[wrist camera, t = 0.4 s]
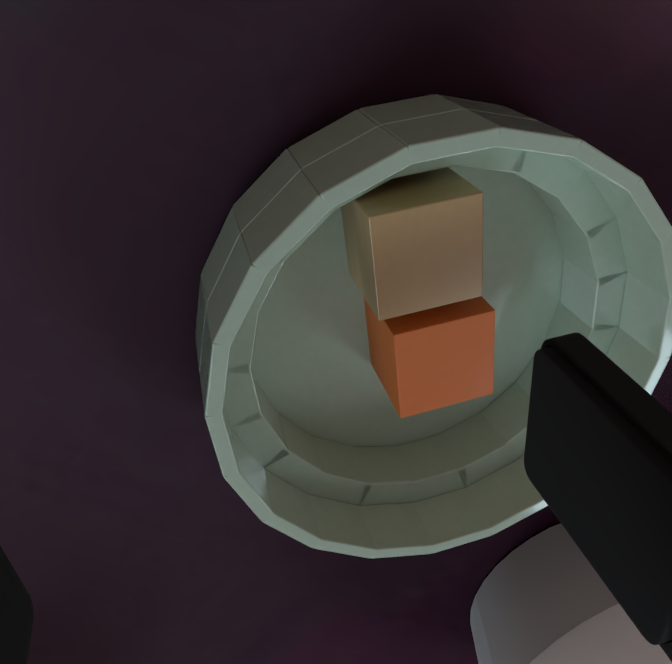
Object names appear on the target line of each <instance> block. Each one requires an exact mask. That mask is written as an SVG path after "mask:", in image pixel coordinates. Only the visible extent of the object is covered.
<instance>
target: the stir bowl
mask: <svg viewBox="0 0 672 664" xmlns="http://www.w3.org/2000/svg"><path fill="white" fill-rule="evenodd" d="M446 167H449V168H450V169H452V170H453V171H454V172H456V173H457V174H458V175H460V176H461V177H463V178H464V179H465V180H467V181H468V182H470V183H471V184H472V185H474V186H475V187H477V188H478V189H479V190H481V191H482V192H483V295H482V297H483V298H484V299H485V300H486V301H487V302H488V303H489V304H490V305H491V306H492V307H493V309H494V310H495V341H494V393H493V394H490V395H487V396H483V397H479V398H475V399H472V400H468V401H464V402H460V403H457V404H453V405H449V406H445V407H442V408H438V409H434V410H431V411H427V412H423V413H419V414H416V415H412V416H408V417H404V418H400V416H399V414H398V413H397V411H396V409H395V407H394V405H393V403H392V402H391V400H390V398H389V396H388V394H387V392H386V390H385V389H384V387H383V385H382V383H381V381H380V379H379V378H378V376H377V374H376V372H375V370H374V368H373V367H372V365H371V359H370V350H369V341H368V332H367V323H366V314H365V305H364V296H363V295H362V293H361V292H360V290H359V288H358V287H357V285H356V284H355V282H354V280H353V279H352V277H351V276H350V274H349V269H348V261H347V253H346V245H345V237H344V229H343V221H342V212H341V207H342V206H344V205H345V204H347V203H349V202H351V201H353V200H354V199H356V198H358V197H360V196H362V195H363V194H365V193H367V192H369V191H371V190H373V189H374V188H376V187H378V186H380V185H382V184H383V183H385V182H387V181H389V180H391V179H393V178H398V177H403V176H408V175H412V174H417V173H422V172H427V171H432V170H436V169H441V168H446ZM575 332H576V333H580V334H582V335H583V336H585V337H586V338H587V339H588V340H589V341H590V342H591V343H593V344H594V345H595V346H596V347H597V348H598V349H599V350H601V351H602V352H603V353H604V354H605V355H606V356H607V357H608V358H610V359H611V360H612V361H613V362H614V363H615V364H616V365H617V366H619V367H620V368H621V369H622V370H623V371H624V372H625V373H626V374H628V375H629V376H630V377H631V378H632V379H633V380H634V381H635V382H637V383H638V384H639V385H640V386H641V387H642V388H643V389H645V390H646V391H647V392H648V393H649V394H650V395H651V394H652V392H653V390H654V388H655V386H656V385H657V383H658V381H659V379H660V377H661V375H662V373H663V371H664V369H665V367H666V365H667V363H668V361H669V359H670V356H671V353H672V226H671V225H670V223H669V221H668V220H667V218H666V216H665V215H664V213H663V212H662V210H661V208H660V207H659V205H658V203H657V202H656V200H655V199H654V197H653V195H652V194H651V192H650V190H649V189H648V187H647V186H646V184H645V182H644V181H643V179H642V178H640V176H639V175H637V174H635V173H634V172H632V171H631V170H629V169H628V168H626V167H625V166H623V165H621V164H620V163H618V162H617V161H615V160H614V159H612V158H611V157H609V156H607V155H606V154H604V153H603V152H601V151H600V150H598V149H596V148H595V147H593V146H592V145H590V144H589V143H587V142H586V141H584V140H582V139H580V138H577V137H575V136H573V135H571V134H568V133H566V132H564V131H561V130H559V129H557V128H554V127H552V126H550V125H547V124H545V123H543V122H540V121H538V120H536V119H533V118H531V117H529V116H526V115H524V114H522V113H519V112H517V111H515V110H512V109H510V108H508V107H505V106H503V105H498V104H492V103H486V102H480V101H474V100H468V99H462V98H456V97H450V96H444V95H438V94H435V95H433V94H432V95H427V96H422V97H416V98H411V99H406V100H400V101H395V102H390V103H385V104H379V105H374V106H369V107H364V108H360V109H359V110H355V111H353V112H351V113H349V114H348V115H346V116H344V117H342V118H341V119H339V120H337V121H335V122H333V123H332V124H330V125H328V126H326V127H324V128H323V129H321V130H319V131H317V132H315V133H314V134H312V135H310V136H308V137H306V138H305V139H303V140H301V141H299V142H297V143H296V144H294V145H292V146H290V147H289V148H288V149H285V150H284V151H283V153H282V154H281V155H280V156H279V157H278V158H277V159H276V160H275V161H274V162H273V163H272V164H271V165H270V166H269V167H268V169H267V170H266V171H265V172H264V173H263V174H262V175H261V176H260V177H259V178H258V179H257V180H256V181H255V182H254V183H253V184H252V186H251V187H250V188H249V189H248V190H247V191H246V192H245V193H244V194H243V195H242V196H241V197H240V198H239V199H238V200H237V202H236V203H235V204H234V205H233V208H232V209H231V210H230V212H229V214H228V217H227V219H226V221H225V223H224V225H223V227H222V229H221V232H220V234H219V236H218V238H217V240H216V242H215V244H214V247H213V249H212V251H211V253H210V255H209V257H208V260H207V262H206V264H205V266H204V268H203V270H202V273H201V277H200V288H199V299H198V310H197V321H196V332H195V341H196V349H197V357H198V365H199V373H200V382H201V390H202V398H203V406H204V414H205V419H206V423H207V426H208V429H209V433H210V436H211V439H212V442H213V446H214V449H215V452H216V455H217V459H218V462H219V465H220V468H221V472H222V475H223V477H224V478H225V480H226V481H227V482H228V483H229V484H230V485H231V487H232V488H233V489H234V490H235V491H236V492H237V494H238V495H239V496H240V497H241V498H242V499H243V500H244V502H245V503H246V504H247V505H248V506H249V507H250V509H251V510H252V511H253V512H254V513H255V514H256V516H257V517H258V518H259V519H260V520H261V521H262V522H263V523H265V524H267V525H269V526H271V527H273V528H274V529H276V530H278V531H280V532H282V533H284V534H286V535H288V536H290V537H292V538H294V539H295V540H297V541H299V542H301V543H303V544H305V545H307V546H309V547H311V548H314V549H319V550H324V551H330V552H336V553H341V554H347V555H353V556H359V557H364V558H372V559H373V558H386V557H398V556H411V555H423V554H431V553H436V552H440V551H443V550H446V549H449V548H453V547H456V546H459V545H463V544H466V543H469V542H472V541H476V540H479V539H482V538H486V537H489V536H491V535H494V534H496V533H498V532H500V531H501V530H503V529H505V528H507V527H509V526H511V525H513V524H515V523H517V522H518V521H520V520H522V519H524V518H526V517H528V516H530V515H532V514H533V513H535V512H537V511H539V510H541V509H543V508H545V507H547V506H548V505H547V503H546V502H545V501H544V499H543V498H542V497H541V495H540V494H539V492H538V491H537V490H536V488H535V487H534V485H533V484H532V483H531V481H530V480H529V478H528V476H527V474H526V471H525V467H524V452H525V442H526V432H527V422H528V411H529V401H530V391H531V381H532V371H533V360H534V354H535V352H536V351H537V350H539V349H541V347H542V344H543V342H544V341H545V340H547V339H550V338H554V337H558V336H562V335H566V334H571V333H575Z"/></svg>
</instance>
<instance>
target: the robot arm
mask: <svg viewBox="0 0 672 664" xmlns="http://www.w3.org/2000/svg"><path fill="white" fill-rule="evenodd" d="M524 467H525V471H526V474H527V476H528V478H529V480H530V481H531V483H532V484H533V485H534V487H535V488H536V490H537V491H538V492H539V494H540V495H541V497H542V498H543V499H544V501H545V502H546V503H547V505H548V506H549V508H550V509H551V510H552V512H553V513H554V514H555V516H556V517H557V519H558V520H559V521H560V523H561V524H562V525H563V527H564V528H565V530H566V531H567V532H568V534H569V535H570V537H571V538H572V539H573V541H574V542H575V543H576V545H577V546H578V548H579V549H580V550H581V552H582V553H583V554H584V556H585V557H586V559H587V560H588V561H589V563H590V564H591V565H592V567H593V568H594V570H595V571H596V572H597V574H598V575H599V576H600V578H601V579H602V581H603V582H604V583H605V585H606V586H607V588H608V589H609V590H610V592H611V593H612V594H613V596H614V597H615V599H616V600H617V601H618V603H619V604H620V605H621V607H622V608H623V610H624V611H625V612H626V614H627V615H628V616H629V618H630V619H631V621H632V622H633V623H634V625H635V626H636V628H637V629H638V630H639V632H640V633H641V634H642V636H643V637H644V638H645V639H646V640H647V641H648V642H649V643H650V644H653V645H658V644H659V645H660V647H661V648H662V649H663V651H664V652H665V653H666V655H667V656H668V658H669V659H670V660H671V662H672V413H670V412H669V411H668V410H667V409H666V408H665V407H664V406H663V405H661V404H660V403H659V402H658V401H657V400H656V399H655V398H654V397H652V396H651V395H650V394H649V393H648V392H647V391H646V390H645V389H643V388H642V387H641V386H640V385H639V384H638V383H637V382H635V381H634V380H633V379H632V378H631V377H630V376H629V375H628V374H626V373H625V372H624V371H623V370H622V369H621V368H620V367H619V366H617V365H616V364H615V363H614V362H613V361H612V360H611V359H610V358H608V357H607V356H606V355H605V354H604V353H603V352H602V351H601V350H599V349H598V348H597V347H596V346H595V345H594V344H593V343H591V342H590V341H589V340H588V339H587V338H586V337H585V336H583V335H582V334H580V333H576V332H575V333H571V334H566V335H562V336H558V337H554V338H550V339H547V340H545V341H544V342H543V344H542V347H541V349H539V350H537V351H536V352H535V354H534V360H533V371H532V381H531V391H530V401H529V411H528V422H527V432H526V442H525V452H524ZM32 624H33V605H32V601H31V598H30V596H29V594H28V592H27V590H26V589H25V587H24V585H23V584H22V582H21V580H20V579H19V577H18V575H17V573H16V572H15V570H14V568H13V567H12V565H11V563H10V562H9V560H8V558H7V557H6V555H5V553H4V551H3V550H2V548H1V546H0V664H26V662H27V656H28V650H29V643H30V637H31V631H32Z"/></svg>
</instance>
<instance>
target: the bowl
mask: <svg viewBox="0 0 672 664" xmlns="http://www.w3.org/2000/svg"><path fill="white" fill-rule="evenodd" d="M470 624H471V629H472V634H473V639H474V644H475V649H476V653H477V658H478V663H479V664H672V662H671V660H670V659H669V658H668V656H667V655H666V653H665V652H664V651H663V649H662V648H661V647H660V645H659V644H658V645H653V644H650V643H649V642H648V641H647V640H646V639H645V638H644V637H643V636H642V634H641V633H640V632H639V630H638V629H637V628H636V626H635V625H634V623H633V622H632V621H631V619H630V618H629V616H628V615H627V614H626V612H625V611H624V610H623V608H622V607H621V605H620V604H619V603H618V601H617V600H616V599H615V597H614V596H613V594H612V593H611V592H610V590H609V589H608V588H607V586H606V585H605V583H604V582H603V581H602V579H601V578H600V576H599V575H598V574H597V572H596V571H595V570H594V568H593V567H592V565H591V564H590V563H589V561H588V560H587V559H586V557H585V556H584V554H583V553H582V552H581V550H580V549H579V548H578V546H577V545H576V543H575V542H574V541H573V539H572V538H571V537H570V535H569V534H568V532H567V531H566V530H565V528H564V527H563V525H562V524H561V523H560V524H558V525H555V526H553V527H550V528H548V529H546V530H545V531H543V532H541V533H539V534H537V535H536V536H534V537H532V538H530V539H529V540H527V541H526V542H524V543H523V544H522V545H520V546H519V547H517V548H516V549H515V550H513V551H512V552H511V553H510V554H509V555H507V556H506V557H505V558H504V559H503V560H502V561H501V562H500V563H499V564H498V565H497V566H496V567H495V568H494V569H493V570H492V572H491V573H490V574H489V575H488V576H487V578H486V579H485V580H484V581H483V583H482V585H481V587H480V588H479V590H478V592H477V593H476V595H475V598H474V601H473V604H472V607H471V614H470Z"/></svg>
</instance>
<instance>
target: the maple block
mask: <svg viewBox="0 0 672 664" xmlns="http://www.w3.org/2000/svg"><path fill="white" fill-rule="evenodd" d="M341 212H342V221H343V229H344V237H345V245H346V253H347V261H348V269H349V274H350V276H351V277H352V279H353V280H354V282H355V284H356V285H357V287H358V288H359V290H360V292H361V293H362V295H363V296H364V298H365V300H366V301H367V303H368V304H369V306H370V308H371V309H372V311H373V312H374V314H375V316H376V317H377V319H378V320H379V321H381V320H385V319H390V318H394V317H398V316H402V315H406V314H410V313H414V312H418V311H422V310H427V309H431V308H435V307H439V306H443V305H447V304H451V303H455V302H460V301H464V300H468V299H472V298H476V297H480V296H482V295H483V192H482V191H481V190H479V189H478V188H477V187H475V186H474V185H472V184H471V183H470V182H468V181H467V180H465V179H464V178H463V177H461V176H460V175H458V174H457V173H456V172H454V171H453V170H452V169H450V168H449V167H446V168H441V169H436V170H432V171H427V172H422V173H417V174H412V175H408V176H403V177H398V178H393V179H391V180H389V181H387V182H385V183H383V184H382V185H380V186H378V187H376V188H374V189H373V190H371V191H369V192H367V193H365V194H363V195H362V196H360V197H358V198H356V199H354V200H353V201H351V202H349V203H347V204H345V205H344V206H342V207H341Z"/></svg>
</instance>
